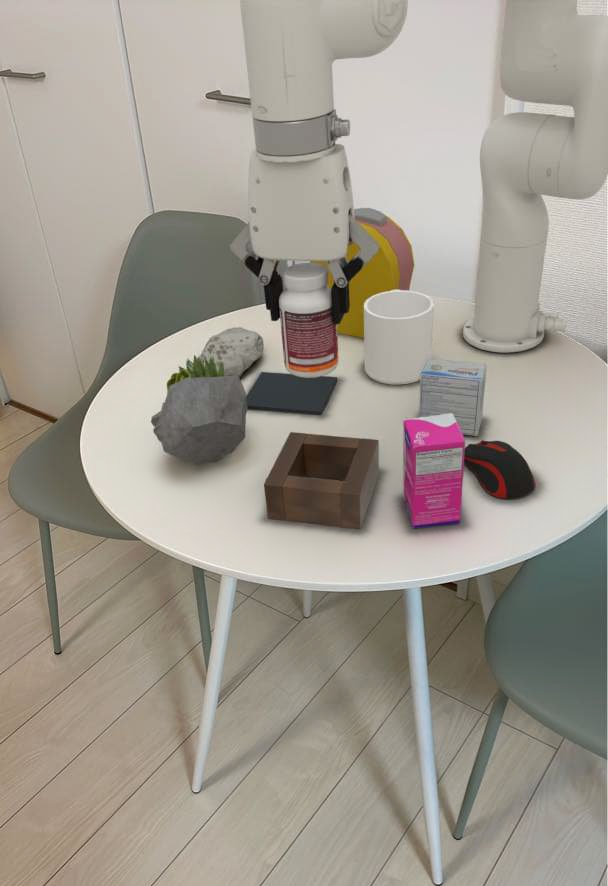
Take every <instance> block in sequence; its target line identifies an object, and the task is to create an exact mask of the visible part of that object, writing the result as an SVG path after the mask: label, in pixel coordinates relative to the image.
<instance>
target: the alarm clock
mask: <svg viewBox="0 0 608 886" xmlns="http://www.w3.org/2000/svg"><path fill="white" fill-rule="evenodd" d="M354 216H355V220H356V221H357V222H358V223H359V224H360V225H361V226H362V227H363V228H364V229H365V230H366V231H367V232H368V233H369V234H370V235H371V236H372V237H373V238H374V239H375V240H376V241H377V242H378V243H379V249H378V251H377V253H376V254H375V255H374V256H373V257H372V258H371V259H370V260H369V261H368V262H367V264H365V265H364V266H363V267H362V269H361V270H360V271H359V272H358V273H357V274H356V275H355V276H354V277H353V278H352V279H351V280H350V281H349V298H350V308H349V312H348V313H345V314H344V316H343V318H342V320H341V322H340V324H337V334H342V335H346V336H351V337H356V338H361V339H364V303H365V301H366V300H367V299H368V298H370V297H372V296H373V295H376V294H379V293H383V292H387V291H391V290H395V289H397V290H406V291H410V287H411V283H412V279H413V273H414V270H415V269H414V268H415V260H414V252H413V246H412V244H411V242H410V240H409V238H408V236H407V235H406V233H405V231H404V229H403V228H402V227H400V225H398V224H397V223H396V222H395V221H394V220H393V219H392V218H390V217H389V216H387V215H386V214H384V213H383V212H382V211H380V210H377V209H375V208H371V207H360V208H354ZM359 252H360V248H359V246H358V245H357V244H356V243H355V242H354V243H352V244H351V245H349V246H348V249H347V254H346V258H347V260H348V262H349V261H350V260H351V259H352V258H353V257H354V256H355V255H357V254H358V253H359ZM309 263H317V264H322V265H324V266H326V268H327V270H328V283H327V284H326V285H327V286H329V287H330V288H332V286H333V284H334V279H333V276H332V274H331V272H330V270H329V268H328V266H327V264H326V262H325V261H309Z"/></svg>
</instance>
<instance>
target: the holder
mask: <svg viewBox="0 0 608 886" xmlns="http://www.w3.org/2000/svg"><path fill="white" fill-rule="evenodd" d="M285 440H286V441H285V442H284V444H283V446H282V448H281V450H280V451H279V454H278V455H277V457H276V459H275V461H274V464H273V465H272V467H271V469H270V471H269V473H268V475H267V477H266V479H265V481H264V483H263V489H264V497H265V505H266V513H267V519H271V520H279V521H280V520H281V521H289V522H297V523H305V524H313V525H323V526H324V525H325V526H330V527H331V526H332V527H338V528H339V527H340V528H341V527H342V528H347V529H354V530H361V529H362V526H363V523H364V520H365V517H366V514H367V509H368V508H369V504H370V502H371V498H372V495H373V492H374V489H375V486H376V484H377V480H378V478H379V474H380V440H379V439H374V438H372V439H371V438H363V437H361V438H359V437H352V436H351V437H350V436H349V437H348V436H338V435H337V436H336V435H327V434H318V433H317V434H315V433H306V432H295V431H290V432H289V434H288V436H287V437H286V439H285Z"/></svg>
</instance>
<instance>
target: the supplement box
mask: <svg viewBox="0 0 608 886" xmlns="http://www.w3.org/2000/svg"><path fill="white" fill-rule="evenodd" d="M402 426H403V431H402V432H403V434H402V435H403V436H402V437H403V439H402V441H403V444H402V445H403V446H402V449H403V450H402V451H403V452H402V463H403V464H402V472H403V473H402V497H403V498H402V499H403V501H404V504H405V507H406V510H407V513H408V517H409V520H410V524H411V528H412V529H422V528H430V527H437V526H438V527H439V526H447V525H448V526H449V525H460V524H461V517H462V501H463V484H464V470H465V463H464V454H465V447H466V439H465V437H464V435H463V434H462V432H461V430H460V428H459V426H458V424H457V422H456V419H455V417H454V415H453V413H449V414H442V415H436V416H428V417H420V418H419V417H411V418H404V419H403V423H402Z"/></svg>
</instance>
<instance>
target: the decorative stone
mask: <svg viewBox="0 0 608 886" xmlns="http://www.w3.org/2000/svg"><path fill="white" fill-rule="evenodd" d="M264 346H265V344H264V338H263V337H262V335H260V334H259V333H258V332H257V331H253V330H249V329H247V328H244V327H241V326H238V327H230V328H227V329H224V330H223V331H221V332H219V333H217V334H214V335H213V336H211V337H210V338H208V341H207V342H206V343H205V345H204V348H203V349H202V351H201V354H200V355H198V357H199V358H200V360H201V361H202V362H203V363H204V355H205V357H206V359H207V361H208V363H209V361H210V357H211V358H212V357H213V358H214V363H216V369H217V374H218V371H219V367H220V362H222V363H223V367H224V375H225V376H229V375H230V376H231V375H238V377H239V379H240V378H241V376H243V374H244V372H245V371H246V370H248V369H250V367H251V366H252V364H253V363H254V362H255V361H257V360H258V359H260V357H261V356H262V355H263V354H264V350H265V347H264Z"/></svg>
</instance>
